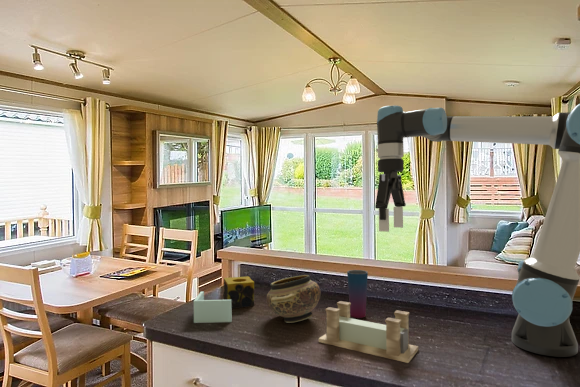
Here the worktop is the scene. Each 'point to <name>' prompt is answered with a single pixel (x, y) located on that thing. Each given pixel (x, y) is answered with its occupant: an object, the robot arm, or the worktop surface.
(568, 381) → the worktop surface
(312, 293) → the ceramic bowl
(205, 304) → the l-shaped corner panel
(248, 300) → the yellow patterned cube
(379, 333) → the rail
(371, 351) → the bar on post stand
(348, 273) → the cup
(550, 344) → the robot arm
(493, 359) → the worktop surface
